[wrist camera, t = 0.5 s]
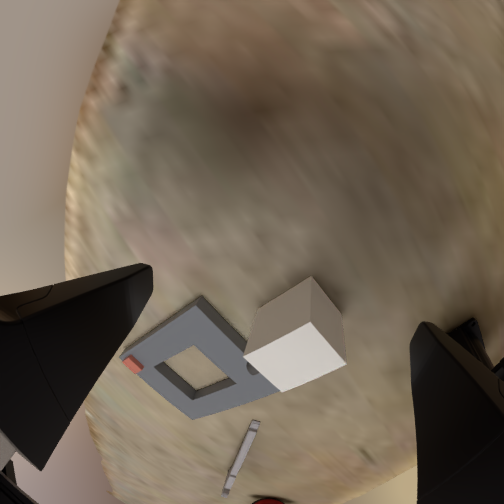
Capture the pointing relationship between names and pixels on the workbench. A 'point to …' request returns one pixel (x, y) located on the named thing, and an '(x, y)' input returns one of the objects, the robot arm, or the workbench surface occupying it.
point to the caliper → (240, 457)
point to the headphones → (268, 501)
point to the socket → (212, 346)
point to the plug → (296, 337)
